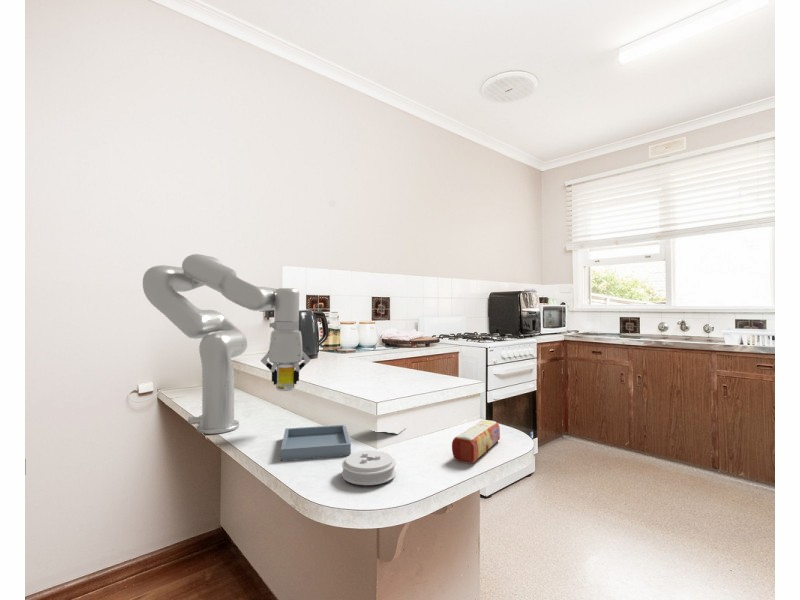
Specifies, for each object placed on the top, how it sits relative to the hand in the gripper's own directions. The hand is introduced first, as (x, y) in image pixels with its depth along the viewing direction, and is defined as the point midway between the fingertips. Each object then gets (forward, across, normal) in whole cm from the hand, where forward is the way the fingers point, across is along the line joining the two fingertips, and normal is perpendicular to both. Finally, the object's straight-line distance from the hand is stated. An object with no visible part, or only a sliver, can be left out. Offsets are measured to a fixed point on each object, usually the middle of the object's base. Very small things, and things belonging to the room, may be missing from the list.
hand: (285, 383), depth 130 cm
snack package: (+15, +53, -29) cm, 62 cm away
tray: (+15, +10, -16) cm, 24 cm away
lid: (+15, +22, -39) cm, 47 cm away
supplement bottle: (+2, 0, 0) cm, 2 cm away
